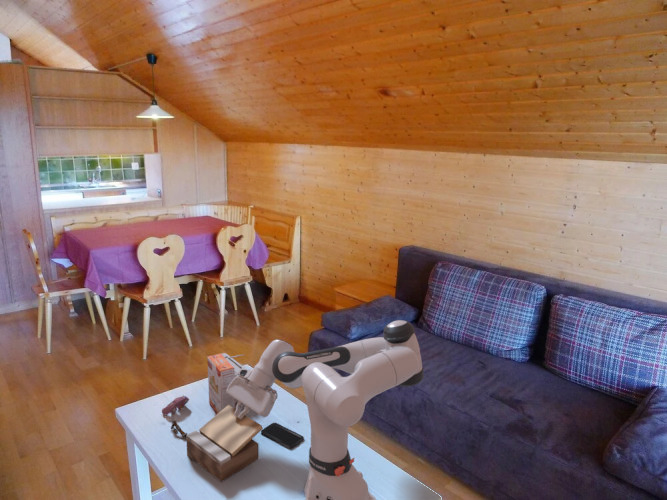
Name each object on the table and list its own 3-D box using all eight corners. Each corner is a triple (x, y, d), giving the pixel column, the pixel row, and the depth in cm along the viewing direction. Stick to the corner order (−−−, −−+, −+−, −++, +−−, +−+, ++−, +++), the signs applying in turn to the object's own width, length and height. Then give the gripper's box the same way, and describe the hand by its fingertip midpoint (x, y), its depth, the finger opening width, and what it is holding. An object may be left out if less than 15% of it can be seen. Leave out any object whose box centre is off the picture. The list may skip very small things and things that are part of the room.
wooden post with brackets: (172, 425, 177) (174, 417, 175) (185, 440, 174) (187, 432, 172) (167, 427, 176) (170, 419, 174) (180, 443, 172) (183, 435, 170)
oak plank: (262, 428, 161) (261, 425, 161) (233, 456, 153) (231, 453, 153) (229, 407, 173) (228, 404, 172) (200, 432, 165) (198, 429, 164)
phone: (274, 421, 182) (305, 437, 173) (274, 424, 182) (305, 440, 173) (259, 431, 175) (290, 448, 167) (259, 434, 176) (290, 451, 167)
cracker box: (208, 403, 193) (206, 355, 188) (222, 399, 196) (221, 352, 191) (220, 421, 182) (219, 370, 177) (236, 417, 185) (235, 367, 180)
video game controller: (167, 421, 184) (172, 408, 181) (159, 412, 185) (164, 400, 182) (187, 408, 192) (192, 397, 189) (180, 401, 193) (184, 389, 190)
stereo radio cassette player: (208, 385, 207) (206, 341, 202) (225, 379, 212) (224, 337, 208) (231, 406, 192) (231, 360, 187) (250, 400, 197) (249, 354, 192)
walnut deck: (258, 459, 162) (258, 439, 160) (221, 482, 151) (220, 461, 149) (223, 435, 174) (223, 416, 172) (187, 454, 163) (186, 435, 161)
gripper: (284, 396, 165) (262, 433, 160) (246, 374, 178) (225, 408, 173) (274, 389, 161) (251, 427, 156) (237, 367, 174) (214, 402, 169)
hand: (237, 417), depth 165 cm, fingers closed, pressing on oak plank
